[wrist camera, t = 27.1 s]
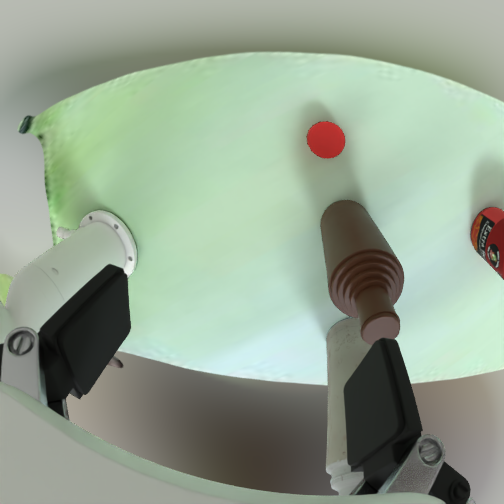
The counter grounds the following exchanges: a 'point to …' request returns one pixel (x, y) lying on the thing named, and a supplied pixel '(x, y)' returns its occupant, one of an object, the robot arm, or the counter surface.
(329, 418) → the thermos bottle
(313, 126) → the cap
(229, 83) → the counter surface
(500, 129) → the counter surface
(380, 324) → the bottle
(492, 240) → the canned food
